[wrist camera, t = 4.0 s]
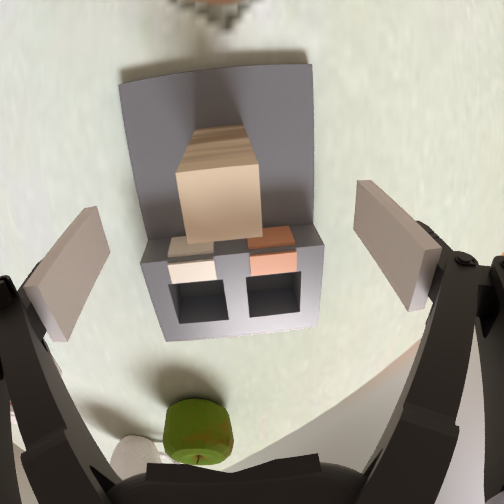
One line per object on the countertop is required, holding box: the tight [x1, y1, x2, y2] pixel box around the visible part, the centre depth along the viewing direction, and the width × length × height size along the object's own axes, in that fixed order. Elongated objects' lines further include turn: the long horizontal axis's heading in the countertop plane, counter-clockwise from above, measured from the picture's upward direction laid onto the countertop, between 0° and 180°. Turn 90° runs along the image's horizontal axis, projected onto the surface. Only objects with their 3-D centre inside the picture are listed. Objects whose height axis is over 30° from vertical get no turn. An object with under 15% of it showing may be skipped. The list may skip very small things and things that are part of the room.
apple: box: [163, 398, 234, 465], centre depth 44 cm, size 11×11×11 cm
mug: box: [110, 435, 179, 480], centre depth 51 cm, size 15×11×13 cm
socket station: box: [118, 64, 324, 342], centre depth 28 cm, size 26×16×6 cm, turn 4°
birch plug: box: [176, 124, 263, 244], centre depth 21 cm, size 4×4×12 cm
